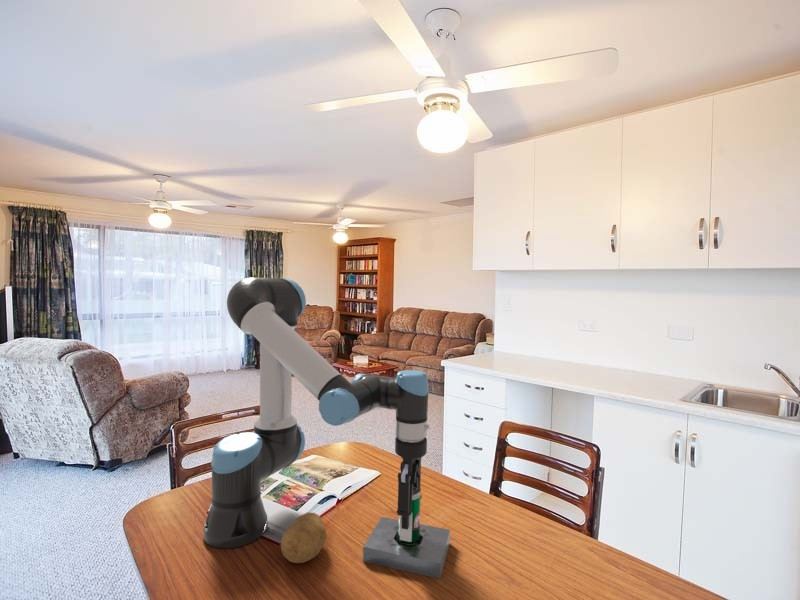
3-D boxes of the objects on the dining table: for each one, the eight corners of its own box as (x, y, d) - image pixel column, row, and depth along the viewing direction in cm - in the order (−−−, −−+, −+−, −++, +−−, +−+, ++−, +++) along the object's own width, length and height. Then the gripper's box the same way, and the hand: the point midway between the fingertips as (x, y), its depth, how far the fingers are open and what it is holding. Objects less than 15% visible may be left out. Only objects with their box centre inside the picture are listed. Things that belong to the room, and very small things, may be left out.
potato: (331, 537, 104) (331, 506, 104) (316, 577, 90) (317, 541, 90) (293, 535, 105) (293, 504, 104) (272, 574, 91) (273, 538, 90)
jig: (362, 561, 95) (363, 546, 95) (381, 529, 108) (381, 516, 108) (440, 578, 90) (440, 563, 90) (449, 543, 103) (450, 529, 103)
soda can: (417, 548, 96) (419, 497, 96) (396, 544, 97) (397, 494, 97) (421, 535, 101) (422, 486, 100) (400, 532, 102) (401, 484, 101)
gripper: (417, 453, 88) (415, 560, 89) (434, 426, 106) (431, 515, 107) (384, 449, 90) (381, 553, 91) (405, 423, 108) (403, 510, 109)
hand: (408, 532), depth 99 cm, fingers closed on soda can, 5 cm apart
